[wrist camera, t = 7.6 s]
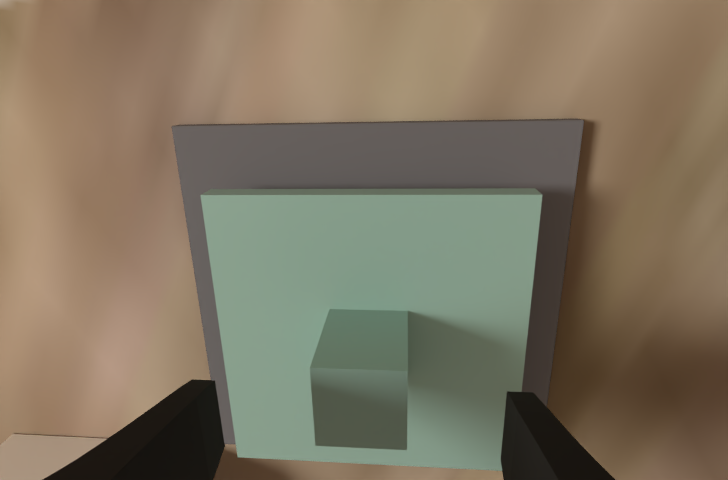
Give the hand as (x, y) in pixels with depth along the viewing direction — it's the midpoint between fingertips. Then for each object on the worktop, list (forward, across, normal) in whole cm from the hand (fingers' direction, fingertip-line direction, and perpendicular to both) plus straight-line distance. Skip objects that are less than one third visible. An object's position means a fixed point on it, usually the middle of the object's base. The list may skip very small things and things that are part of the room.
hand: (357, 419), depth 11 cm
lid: (+6, 0, 0) cm, 6 cm away
